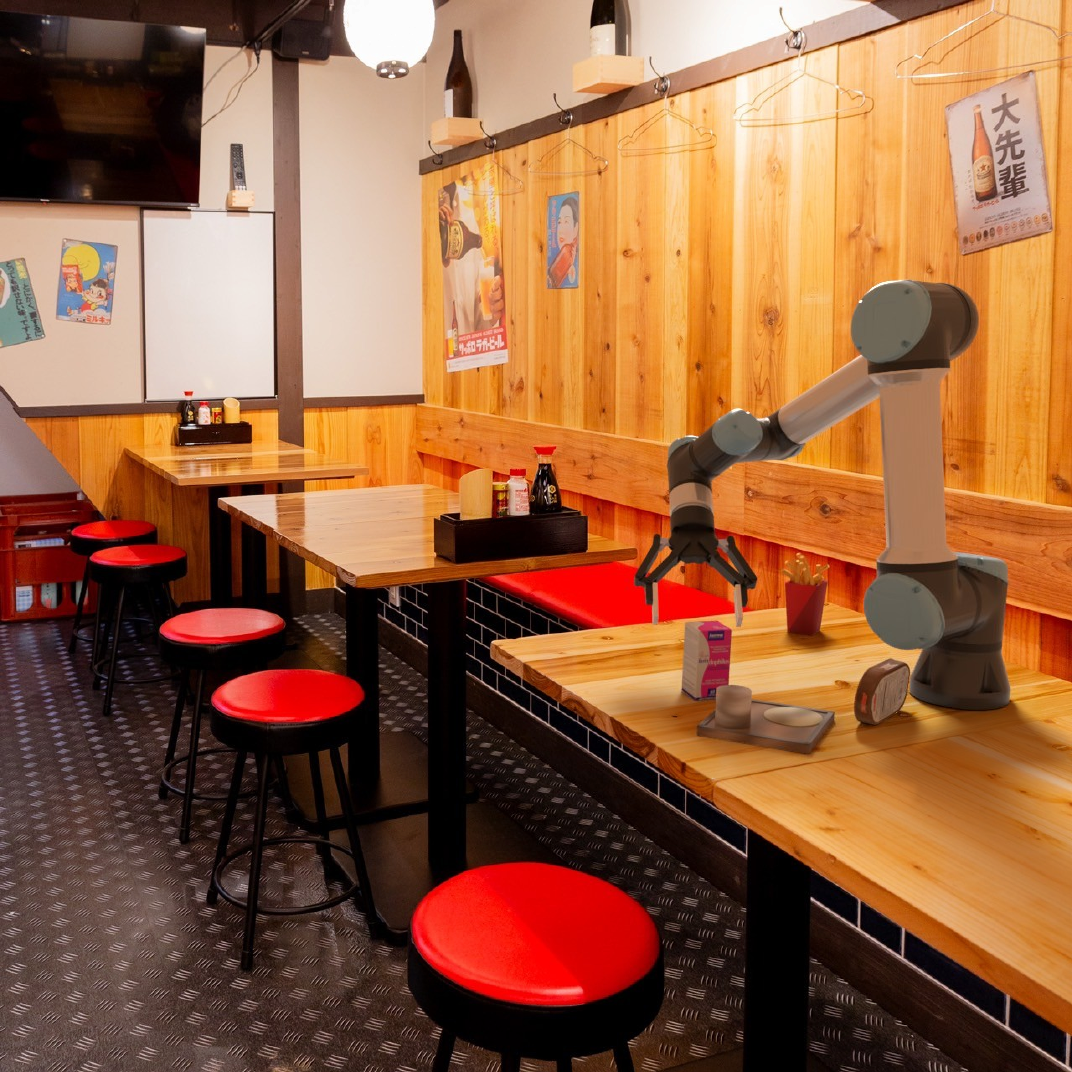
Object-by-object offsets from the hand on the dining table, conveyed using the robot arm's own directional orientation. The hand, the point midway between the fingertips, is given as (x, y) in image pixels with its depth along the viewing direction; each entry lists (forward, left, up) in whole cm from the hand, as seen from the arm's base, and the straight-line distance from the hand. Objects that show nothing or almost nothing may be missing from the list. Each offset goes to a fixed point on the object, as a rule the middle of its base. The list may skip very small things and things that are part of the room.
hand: (697, 621), depth 189 cm
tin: (-30, +3, -11) cm, 32 cm away
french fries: (-6, -43, -11) cm, 45 cm away
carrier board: (-16, +16, -10) cm, 25 cm away
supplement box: (-3, +5, -11) cm, 12 cm away
